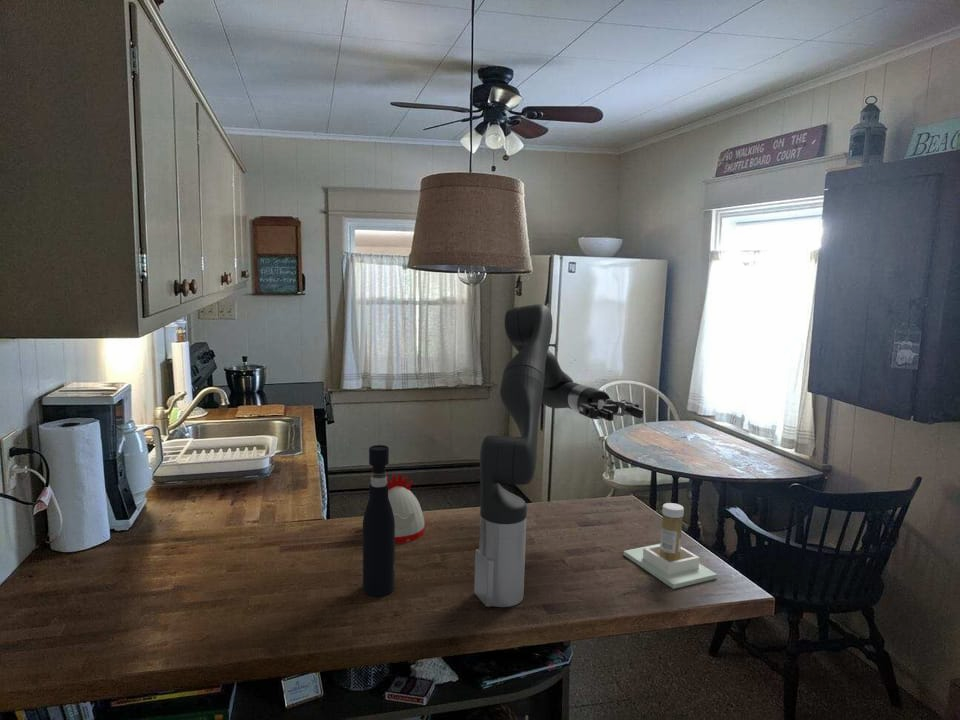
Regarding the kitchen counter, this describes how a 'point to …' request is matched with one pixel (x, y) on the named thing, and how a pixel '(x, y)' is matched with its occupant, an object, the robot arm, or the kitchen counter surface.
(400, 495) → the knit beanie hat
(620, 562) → the kitchen counter surface
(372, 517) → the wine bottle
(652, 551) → the socket board
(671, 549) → the spice jar
